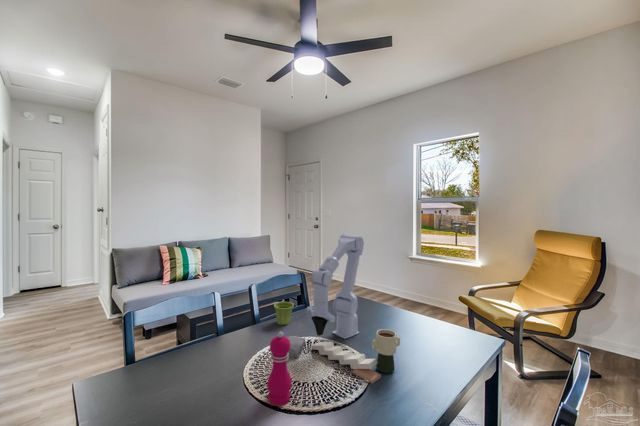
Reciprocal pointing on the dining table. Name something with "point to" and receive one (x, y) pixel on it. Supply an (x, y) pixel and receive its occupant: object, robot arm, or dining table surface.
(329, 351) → the domino
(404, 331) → the dining table surface
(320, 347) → the domino
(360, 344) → the dining table surface
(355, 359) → the domino
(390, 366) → the character mug
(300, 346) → the stone block
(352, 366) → the domino
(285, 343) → the pepper mill
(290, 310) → the plant pot
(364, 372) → the domino
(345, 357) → the domino
